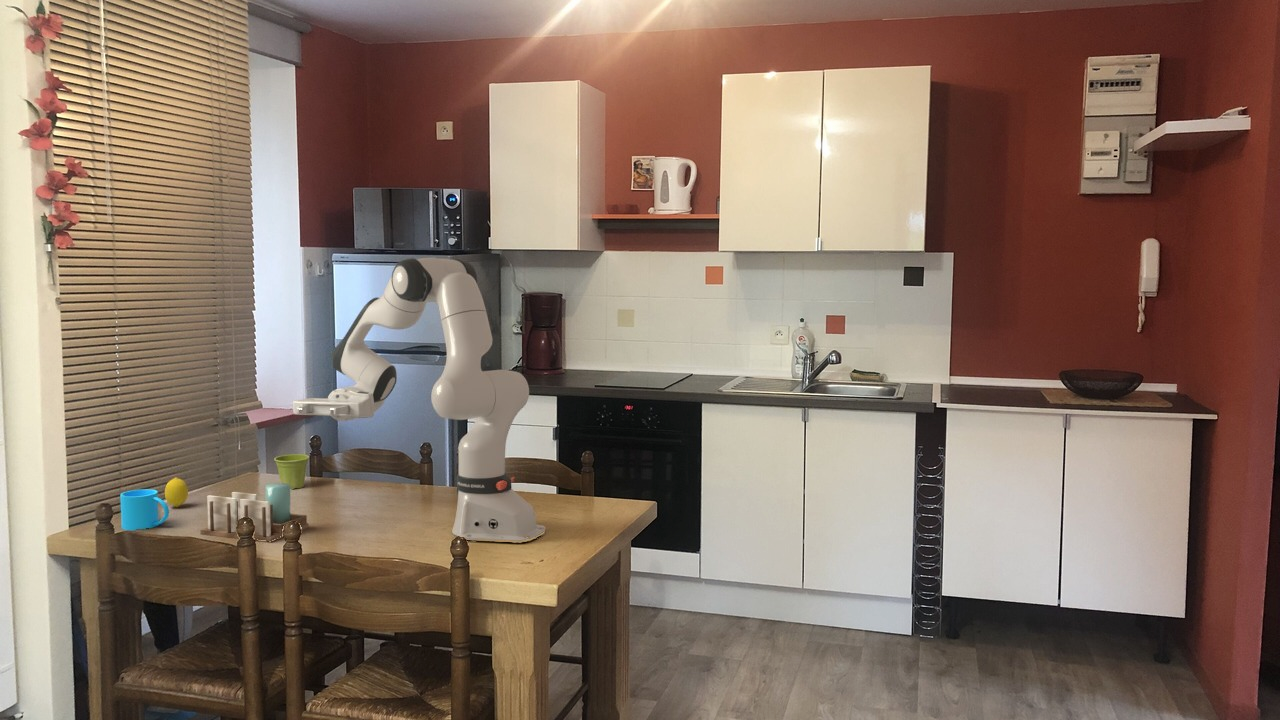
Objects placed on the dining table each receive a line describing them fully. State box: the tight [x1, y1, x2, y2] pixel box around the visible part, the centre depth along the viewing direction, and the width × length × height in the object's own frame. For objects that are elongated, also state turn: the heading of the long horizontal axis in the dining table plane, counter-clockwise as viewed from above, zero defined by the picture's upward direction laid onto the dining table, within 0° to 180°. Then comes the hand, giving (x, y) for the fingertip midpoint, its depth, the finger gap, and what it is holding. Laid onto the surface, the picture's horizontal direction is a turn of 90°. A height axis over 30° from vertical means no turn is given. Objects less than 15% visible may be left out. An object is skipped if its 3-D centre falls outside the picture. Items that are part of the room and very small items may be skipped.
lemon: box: [164, 476, 189, 508], centre depth 263 cm, size 6×6×8 cm
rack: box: [199, 491, 310, 541], centre depth 242 cm, size 20×14×9 cm
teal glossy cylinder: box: [265, 482, 291, 524], centre depth 242 cm, size 6×6×10 cm
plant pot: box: [274, 453, 310, 490], centre depth 287 cm, size 9×9×9 cm
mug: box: [120, 488, 170, 531], centre depth 245 cm, size 12×8×8 cm
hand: (316, 411), depth 254 cm, fingers open, 8 cm apart
